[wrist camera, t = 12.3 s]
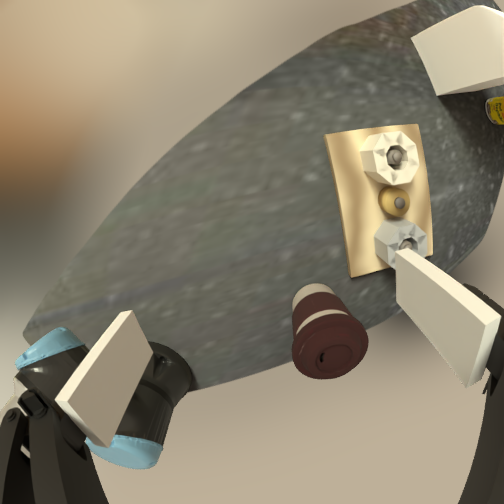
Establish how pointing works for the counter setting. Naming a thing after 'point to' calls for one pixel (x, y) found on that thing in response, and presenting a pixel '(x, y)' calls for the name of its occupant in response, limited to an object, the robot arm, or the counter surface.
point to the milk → (464, 51)
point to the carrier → (375, 196)
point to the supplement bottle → (495, 110)
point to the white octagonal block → (377, 160)
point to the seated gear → (398, 239)
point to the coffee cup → (325, 334)
